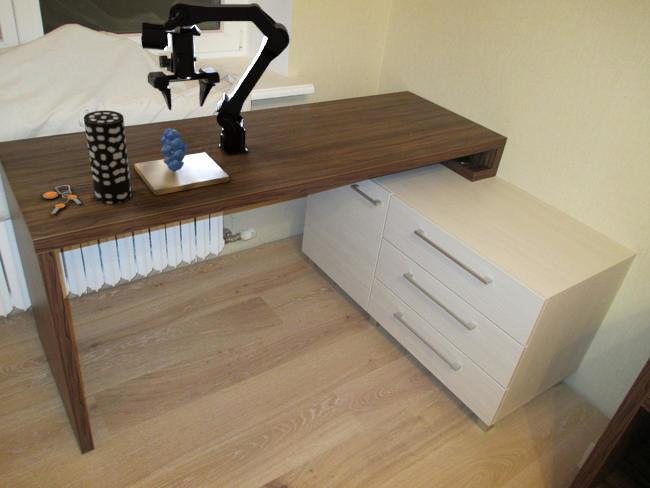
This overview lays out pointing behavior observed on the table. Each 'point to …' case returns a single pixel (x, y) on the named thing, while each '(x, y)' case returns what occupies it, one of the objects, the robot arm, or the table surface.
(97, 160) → the spotted tube
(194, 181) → the board
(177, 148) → the grapes
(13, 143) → the table surface
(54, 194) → the key chain
